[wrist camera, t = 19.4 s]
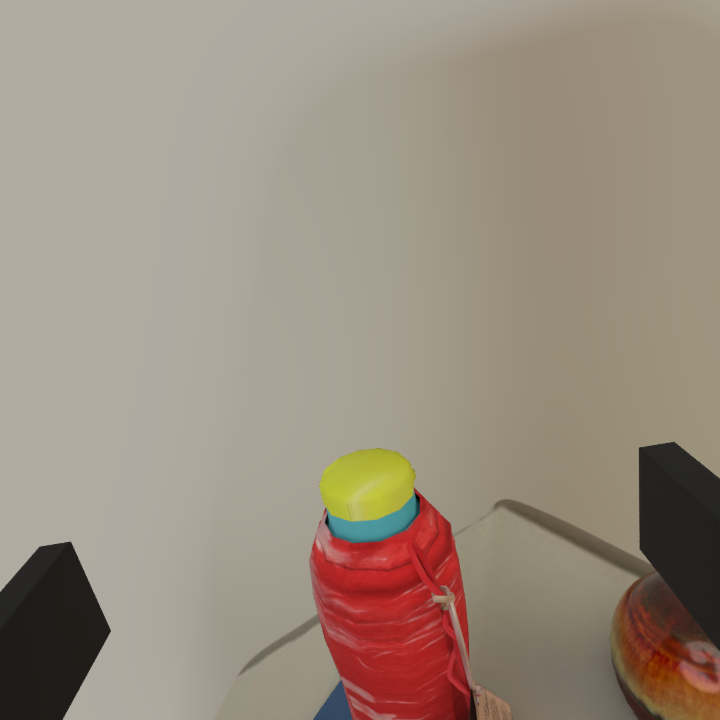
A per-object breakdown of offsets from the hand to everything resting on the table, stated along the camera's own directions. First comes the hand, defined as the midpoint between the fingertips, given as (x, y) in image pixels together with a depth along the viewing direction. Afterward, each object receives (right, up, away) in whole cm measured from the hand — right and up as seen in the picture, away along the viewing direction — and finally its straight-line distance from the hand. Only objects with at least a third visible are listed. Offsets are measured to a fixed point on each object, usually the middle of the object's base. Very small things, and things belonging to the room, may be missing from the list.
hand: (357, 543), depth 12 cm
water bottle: (+6, -24, +19) cm, 31 cm away
